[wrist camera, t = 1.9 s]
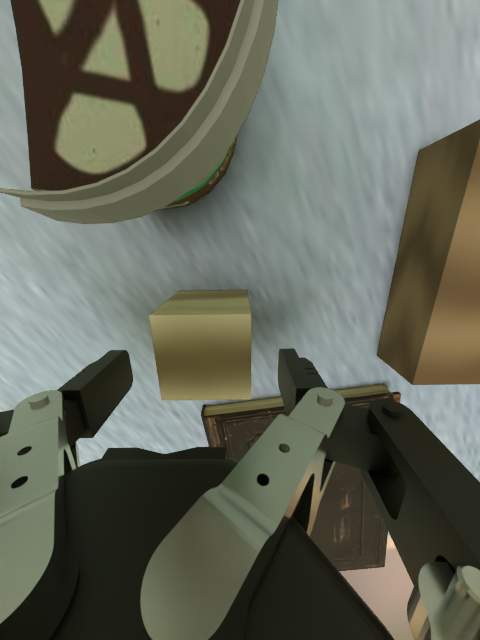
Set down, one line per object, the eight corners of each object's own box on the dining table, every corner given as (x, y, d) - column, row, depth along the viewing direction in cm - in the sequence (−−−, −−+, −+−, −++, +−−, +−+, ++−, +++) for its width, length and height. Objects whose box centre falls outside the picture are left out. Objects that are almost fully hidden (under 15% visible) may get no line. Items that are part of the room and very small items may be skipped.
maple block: (179, 290, 17) (148, 315, 11) (247, 289, 17) (251, 314, 11) (185, 351, 18) (161, 400, 13) (247, 350, 18) (250, 399, 13)
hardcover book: (383, 377, 20) (401, 394, 18) (373, 541, 27) (384, 567, 25) (203, 400, 21) (199, 419, 18) (241, 554, 28) (241, 580, 26)
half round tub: (235, 249, 16) (229, 262, 6) (146, 230, 15) (-2, 214, 6) (281, 8, 12) (444, -897, 2) (163, -27, 11) (-189, -1266, 2)
